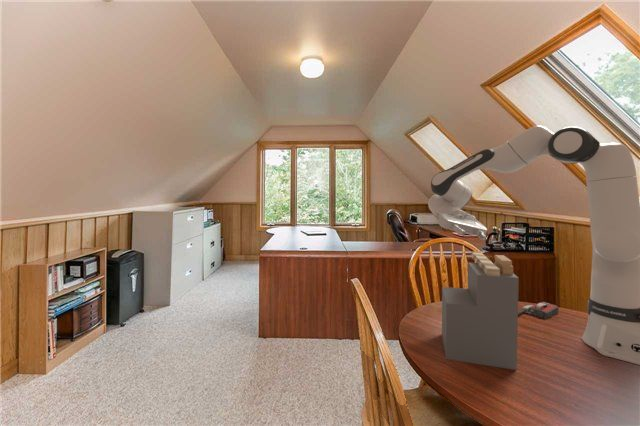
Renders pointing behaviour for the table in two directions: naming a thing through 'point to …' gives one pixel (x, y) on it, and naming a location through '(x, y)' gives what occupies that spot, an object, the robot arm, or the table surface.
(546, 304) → the walkie-talkie
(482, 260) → the birch strip
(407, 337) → the table surface
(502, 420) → the table surface
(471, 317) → the grey stepped block
